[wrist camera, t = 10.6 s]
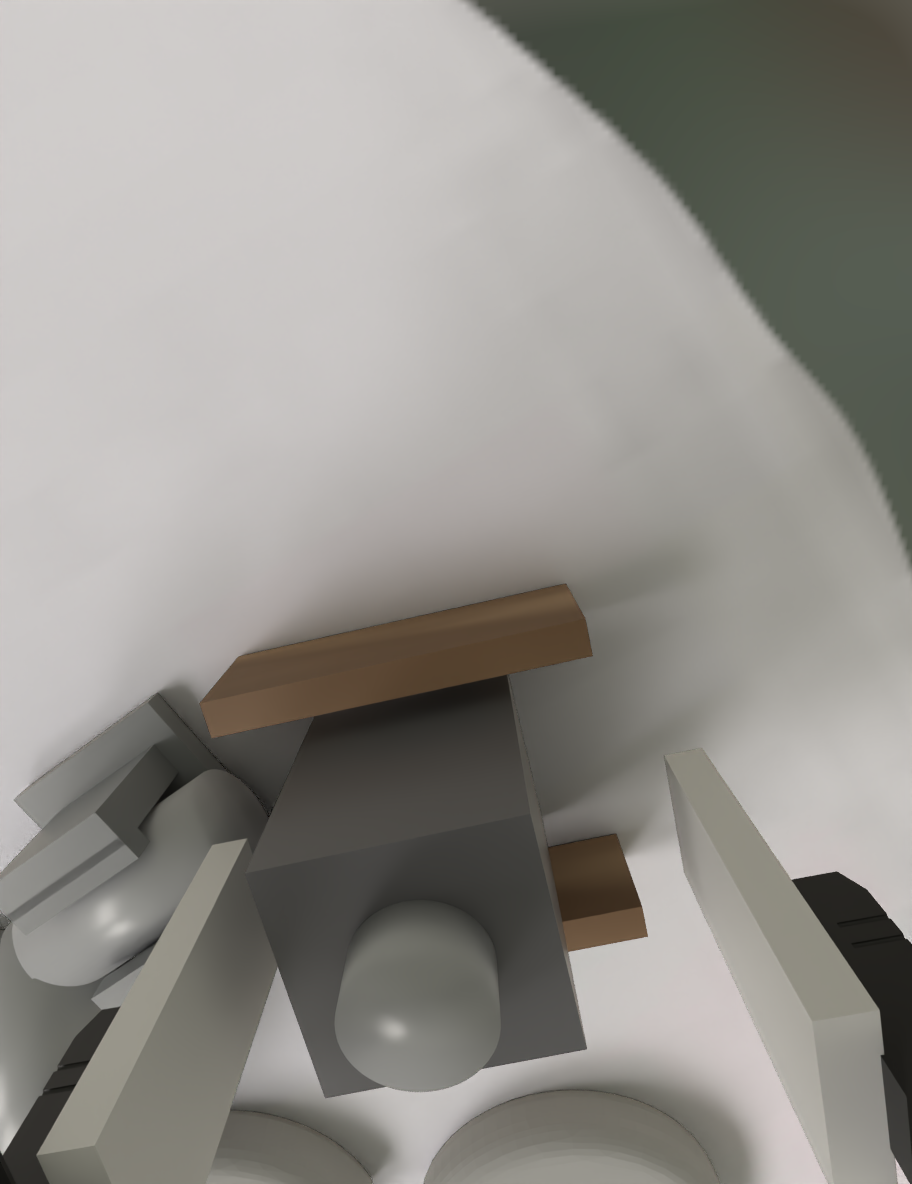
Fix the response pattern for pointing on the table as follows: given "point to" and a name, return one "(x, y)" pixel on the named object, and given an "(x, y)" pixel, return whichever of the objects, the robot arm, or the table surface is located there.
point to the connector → (416, 895)
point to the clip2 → (118, 849)
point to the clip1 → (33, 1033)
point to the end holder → (430, 662)
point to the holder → (487, 1147)
